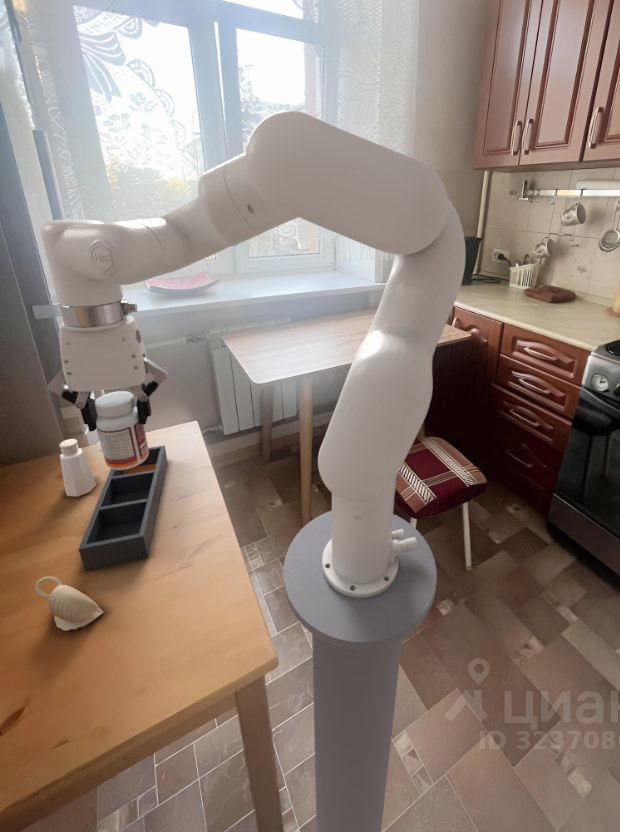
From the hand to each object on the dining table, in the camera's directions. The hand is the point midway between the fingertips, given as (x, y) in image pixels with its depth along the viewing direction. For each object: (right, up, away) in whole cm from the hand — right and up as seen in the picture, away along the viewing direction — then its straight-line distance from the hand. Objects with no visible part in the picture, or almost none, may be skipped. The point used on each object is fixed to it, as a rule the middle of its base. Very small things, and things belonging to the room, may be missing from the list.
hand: (119, 422), depth 61 cm
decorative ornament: (-4, -27, -5) cm, 27 cm away
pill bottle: (0, -7, +3) cm, 7 cm away
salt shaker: (-19, -17, +18) cm, 31 cm away
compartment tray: (-6, -19, +14) cm, 24 cm away
